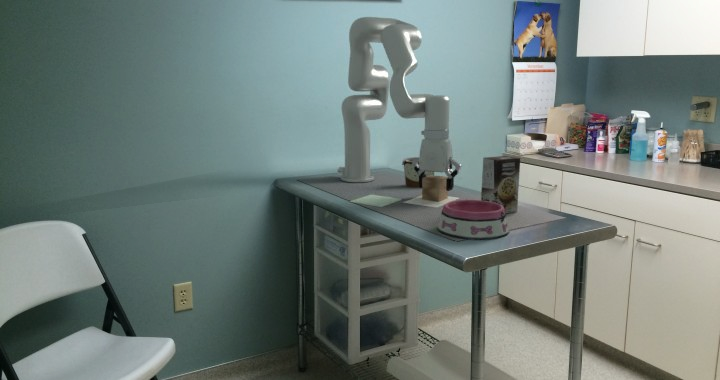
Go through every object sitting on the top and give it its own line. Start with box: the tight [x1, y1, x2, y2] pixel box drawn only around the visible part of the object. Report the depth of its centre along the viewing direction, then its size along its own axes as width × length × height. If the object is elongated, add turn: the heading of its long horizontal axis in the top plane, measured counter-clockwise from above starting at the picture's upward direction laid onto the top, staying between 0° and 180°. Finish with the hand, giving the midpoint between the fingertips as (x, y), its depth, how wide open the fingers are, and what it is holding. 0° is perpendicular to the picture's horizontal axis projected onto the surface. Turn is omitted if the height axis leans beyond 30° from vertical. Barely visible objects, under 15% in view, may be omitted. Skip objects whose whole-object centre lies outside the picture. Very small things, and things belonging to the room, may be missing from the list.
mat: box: [349, 194, 403, 208], centre depth 186 cm, size 12×12×1 cm
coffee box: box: [480, 155, 521, 214], centre depth 171 cm, size 9×6×16 cm
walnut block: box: [421, 174, 449, 202], centre depth 188 cm, size 6×6×7 cm
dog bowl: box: [436, 199, 510, 241], centre depth 153 cm, size 18×19×7 cm
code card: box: [402, 195, 460, 209], centre depth 187 cm, size 12×16×1 cm
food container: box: [401, 156, 435, 188], centre depth 209 cm, size 12×6×10 cm, turn 84°
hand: (435, 188), depth 188 cm, fingers open, 9 cm apart
